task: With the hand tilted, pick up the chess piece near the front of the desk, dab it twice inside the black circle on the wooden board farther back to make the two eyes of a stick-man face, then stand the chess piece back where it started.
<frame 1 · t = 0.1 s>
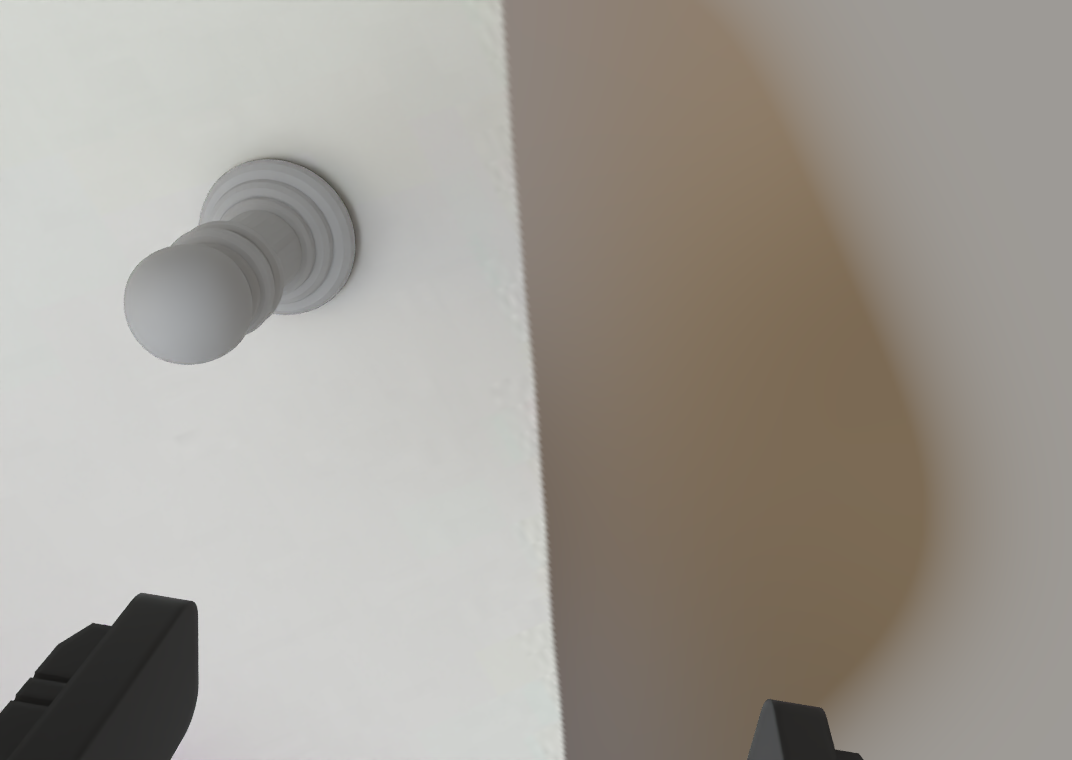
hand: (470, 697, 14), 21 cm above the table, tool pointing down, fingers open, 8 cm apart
chess piece: (284, 233, 34), on the table
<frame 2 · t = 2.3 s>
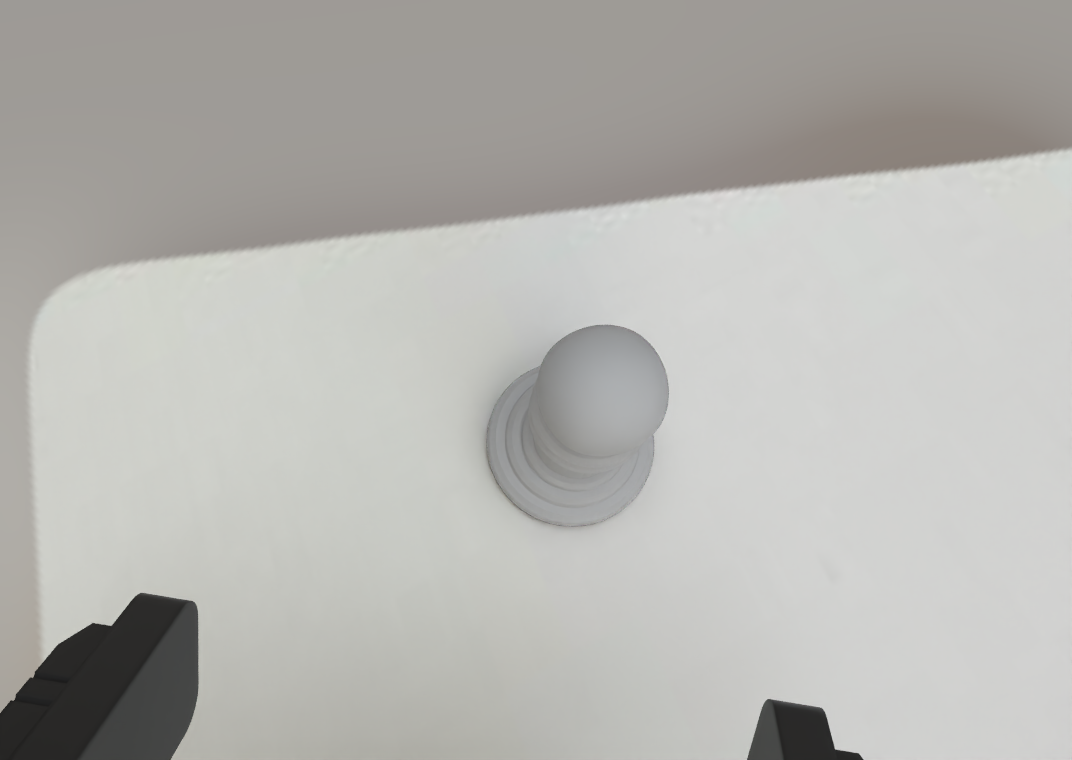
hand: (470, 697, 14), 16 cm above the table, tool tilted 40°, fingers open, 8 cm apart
chess piece: (568, 446, 32), on the table
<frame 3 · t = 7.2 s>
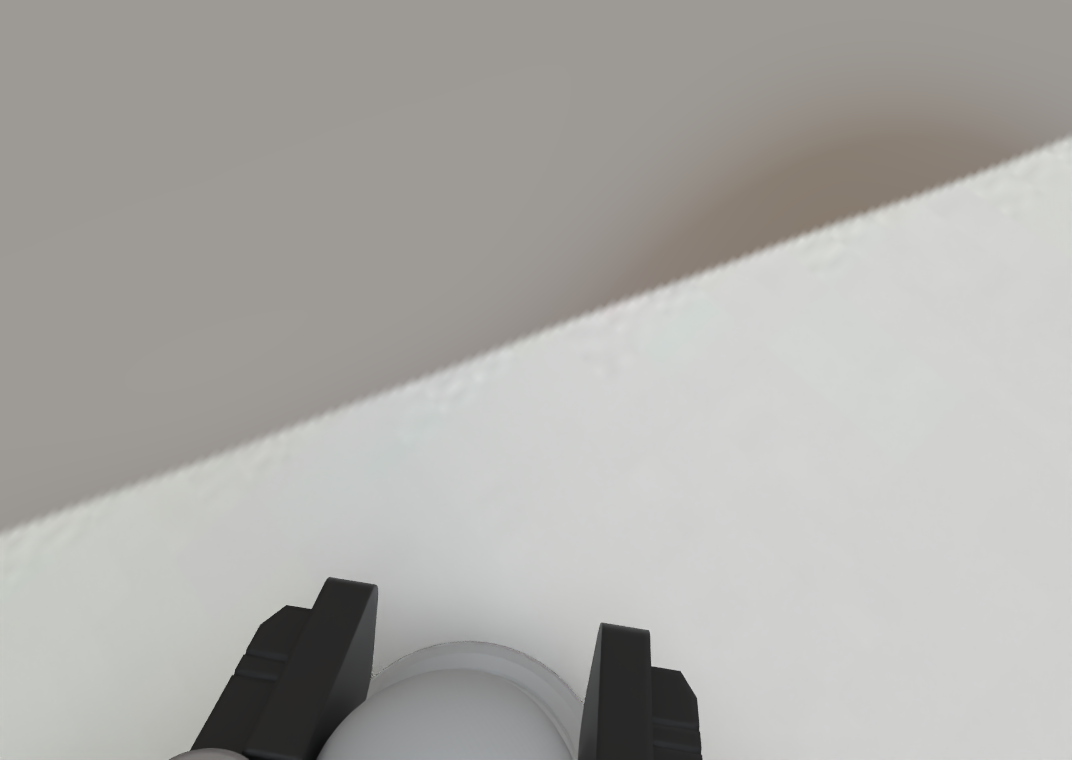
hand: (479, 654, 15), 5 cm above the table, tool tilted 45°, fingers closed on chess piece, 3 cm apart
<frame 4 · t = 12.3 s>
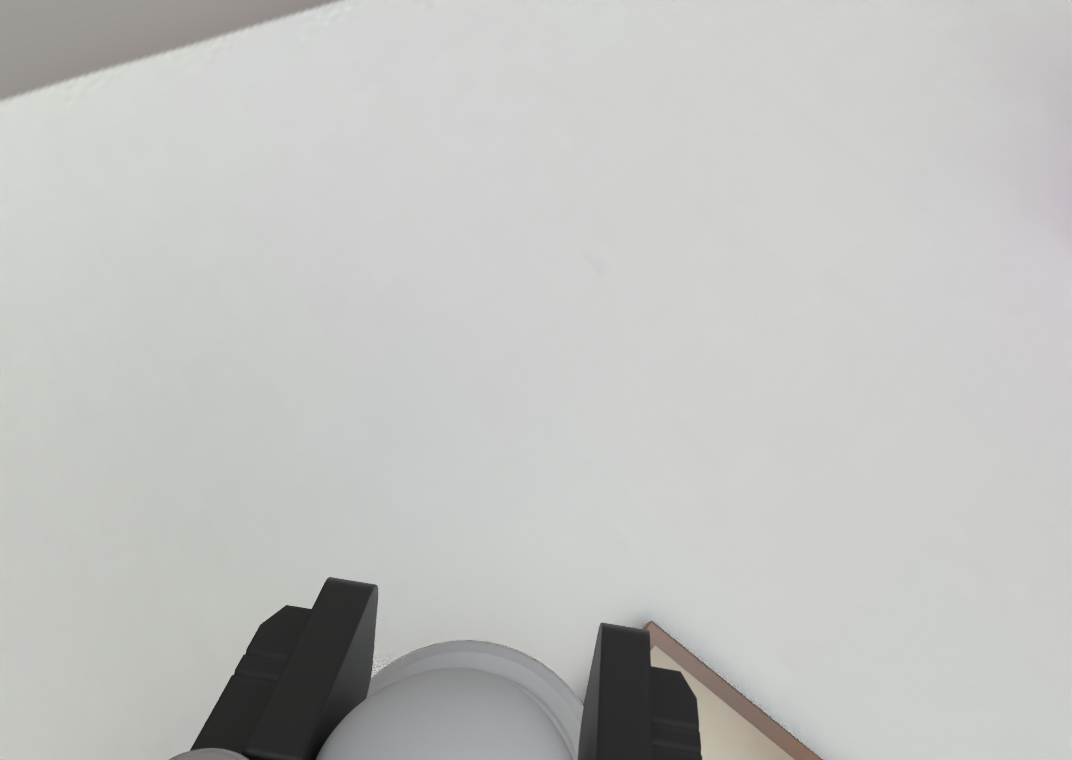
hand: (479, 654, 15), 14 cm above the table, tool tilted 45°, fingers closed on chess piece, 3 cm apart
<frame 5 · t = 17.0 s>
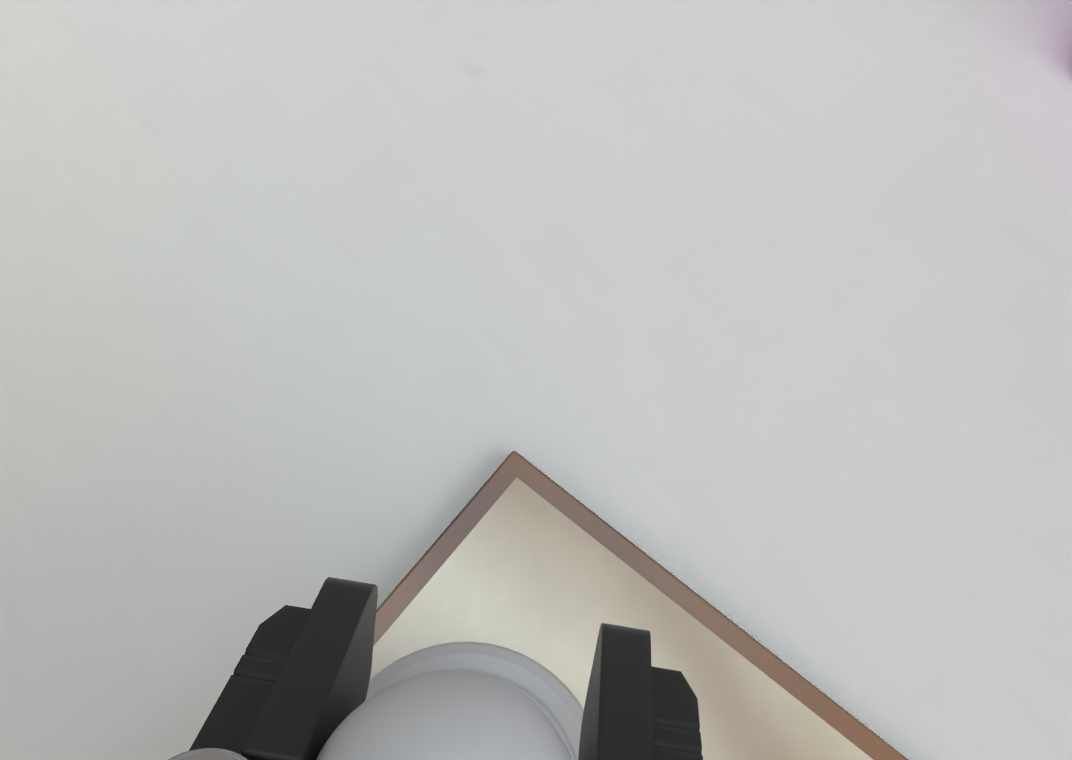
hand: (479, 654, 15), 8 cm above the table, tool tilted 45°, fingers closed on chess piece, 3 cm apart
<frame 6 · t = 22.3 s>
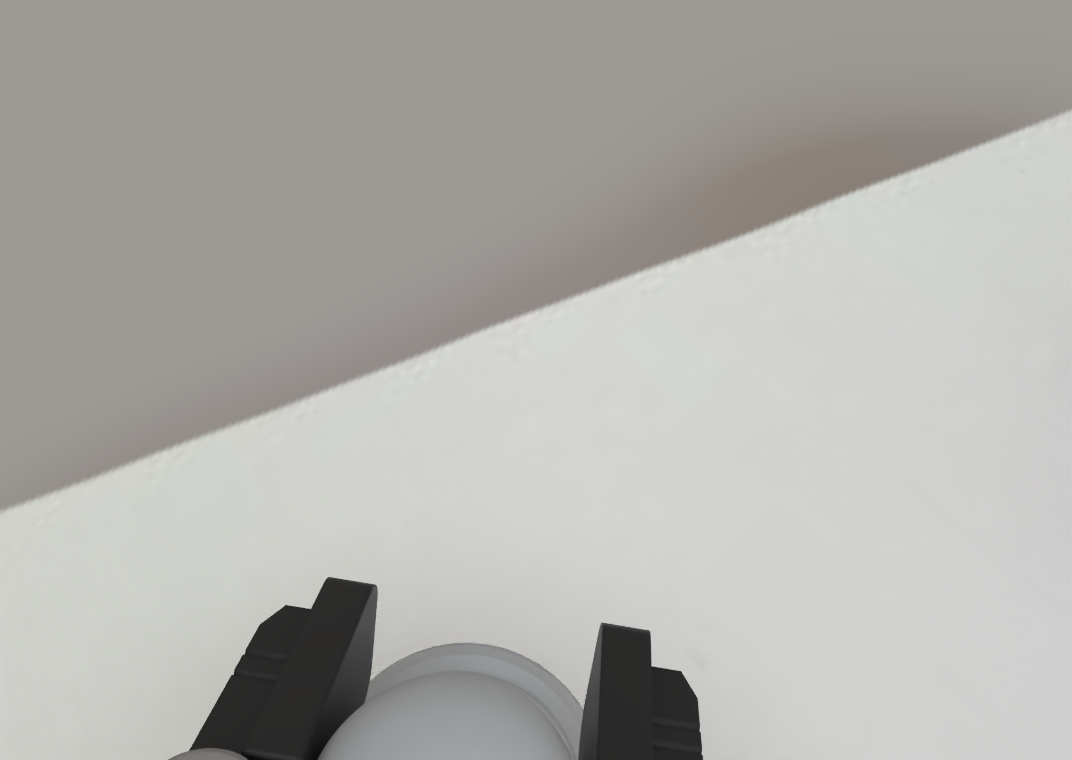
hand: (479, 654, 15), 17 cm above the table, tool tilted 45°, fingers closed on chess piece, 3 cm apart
when the fingers open (5 cm above the table, at t = 26.9 s): chess piece stays where it is, on the table.
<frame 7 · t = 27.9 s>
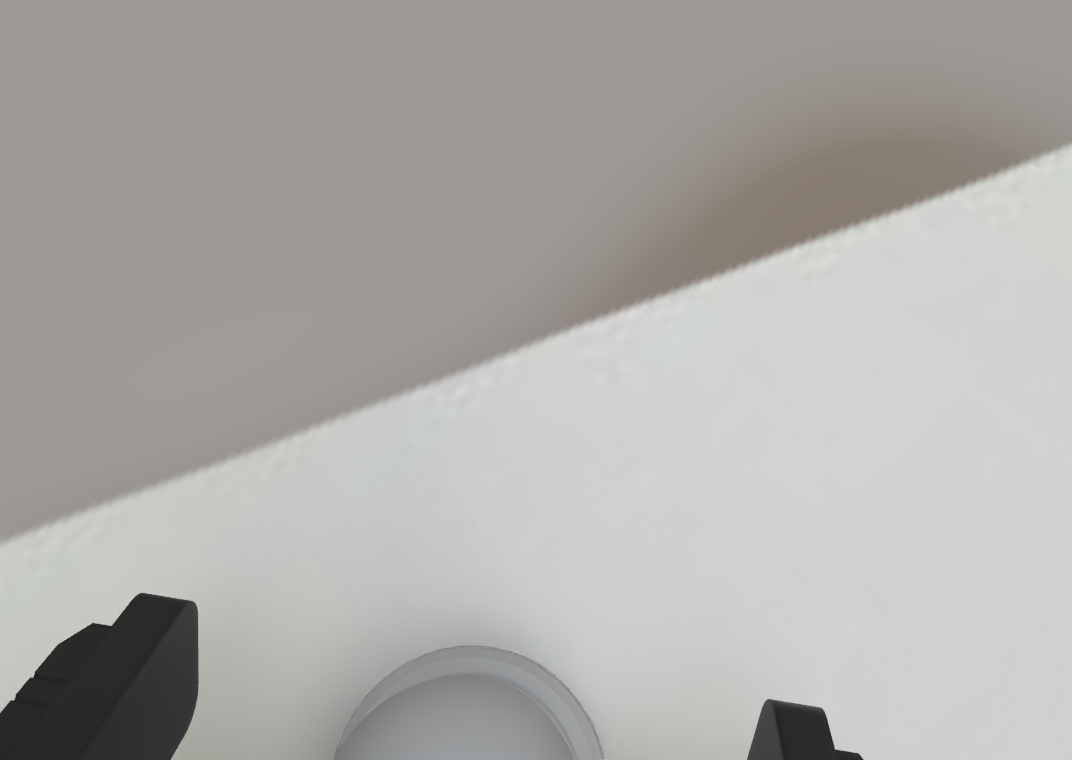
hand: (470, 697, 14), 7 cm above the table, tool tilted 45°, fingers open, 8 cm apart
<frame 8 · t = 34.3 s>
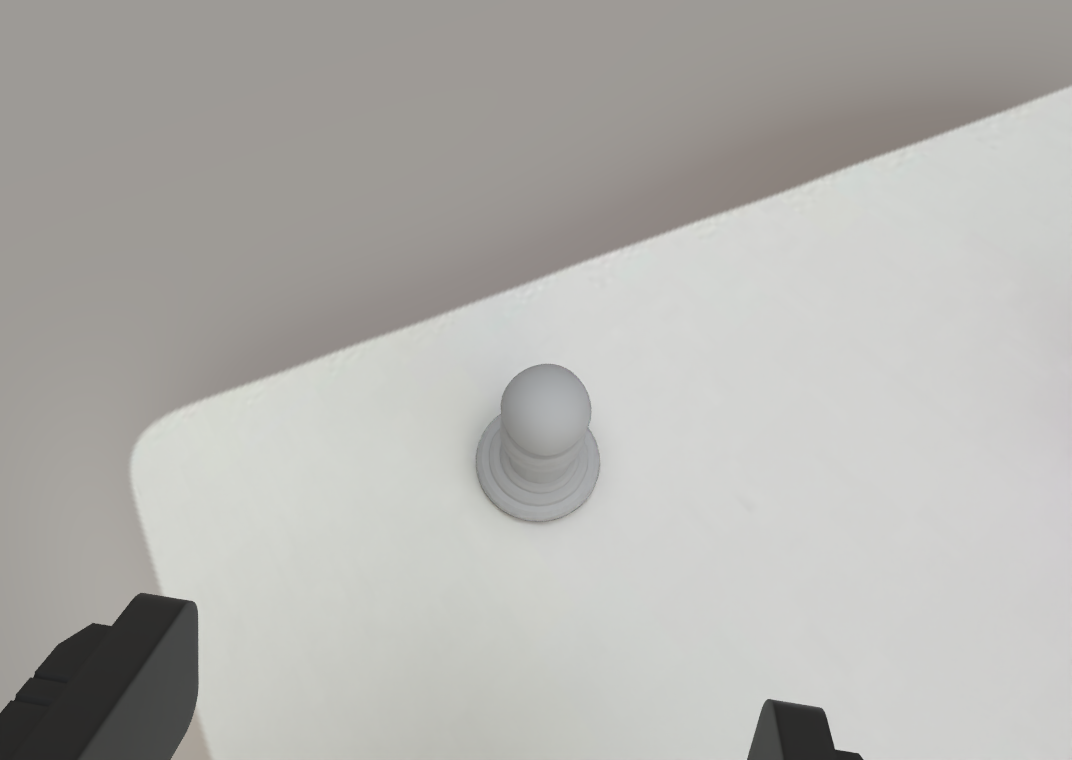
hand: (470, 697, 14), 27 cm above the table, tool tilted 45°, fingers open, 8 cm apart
chess piece: (537, 465, 43), on the table
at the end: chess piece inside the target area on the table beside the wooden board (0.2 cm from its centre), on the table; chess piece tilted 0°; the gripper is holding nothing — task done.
